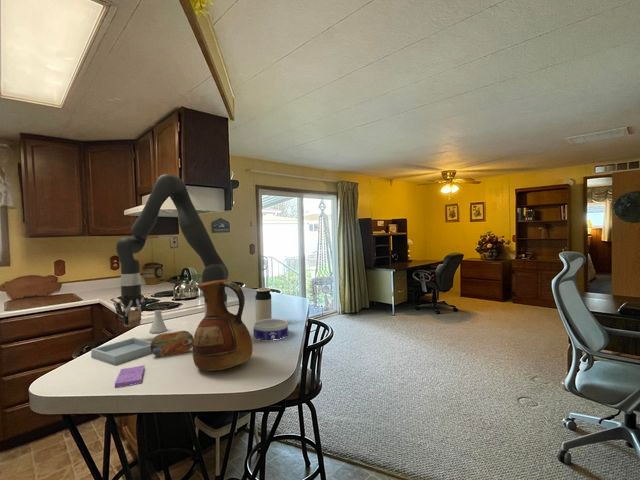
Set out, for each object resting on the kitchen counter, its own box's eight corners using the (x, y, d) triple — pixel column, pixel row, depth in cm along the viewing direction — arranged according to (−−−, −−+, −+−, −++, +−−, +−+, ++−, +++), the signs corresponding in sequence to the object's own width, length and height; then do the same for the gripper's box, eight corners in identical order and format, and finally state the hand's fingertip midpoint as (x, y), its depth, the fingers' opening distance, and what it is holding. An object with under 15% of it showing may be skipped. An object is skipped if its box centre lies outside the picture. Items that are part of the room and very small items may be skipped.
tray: (157, 351, 127) (157, 343, 127) (114, 365, 113) (114, 356, 113) (133, 344, 135) (133, 337, 135) (91, 357, 121) (91, 349, 121)
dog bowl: (284, 329, 156) (284, 317, 156) (291, 339, 141) (291, 325, 141) (252, 333, 151) (251, 320, 151) (255, 343, 136) (255, 328, 136)
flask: (146, 332, 153) (145, 311, 152) (159, 328, 159) (158, 308, 159) (157, 334, 150) (157, 312, 150) (170, 330, 157) (169, 309, 156)
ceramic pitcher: (205, 355, 122) (204, 276, 122) (258, 355, 122) (257, 275, 121) (181, 377, 103) (180, 283, 102) (244, 377, 102) (243, 282, 102)
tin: (150, 358, 119) (150, 336, 119) (150, 356, 122) (150, 333, 122) (194, 351, 126) (193, 330, 126) (193, 349, 129) (192, 328, 129)
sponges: (114, 389, 96) (114, 383, 96) (120, 373, 108) (120, 368, 108) (141, 384, 99) (141, 378, 99) (144, 369, 111) (144, 364, 110)
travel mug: (274, 323, 166) (274, 288, 166) (264, 327, 159) (263, 290, 159) (263, 321, 170) (262, 287, 170) (252, 325, 163) (252, 289, 163)
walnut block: (140, 324, 140) (140, 310, 140) (130, 327, 136) (129, 313, 136) (134, 323, 143) (134, 309, 143) (124, 326, 139) (123, 312, 139)
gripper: (118, 286, 131) (120, 328, 131) (152, 282, 144) (153, 320, 144) (108, 285, 135) (110, 326, 135) (142, 281, 147) (143, 318, 148)
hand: (132, 323), depth 140 cm, fingers closed on walnut block, 4 cm apart
